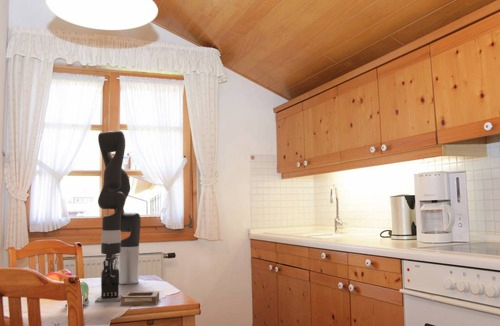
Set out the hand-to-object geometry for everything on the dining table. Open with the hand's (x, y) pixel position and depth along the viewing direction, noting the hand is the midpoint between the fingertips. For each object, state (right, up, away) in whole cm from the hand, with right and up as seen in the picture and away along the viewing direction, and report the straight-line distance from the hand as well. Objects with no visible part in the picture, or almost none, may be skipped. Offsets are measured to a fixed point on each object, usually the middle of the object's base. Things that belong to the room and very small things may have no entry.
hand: (110, 284), depth 181 cm
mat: (0, -6, -1) cm, 6 cm away
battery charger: (0, -5, 0) cm, 5 cm away
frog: (-9, -5, -9) cm, 14 cm away
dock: (+13, -5, -6) cm, 15 cm away
